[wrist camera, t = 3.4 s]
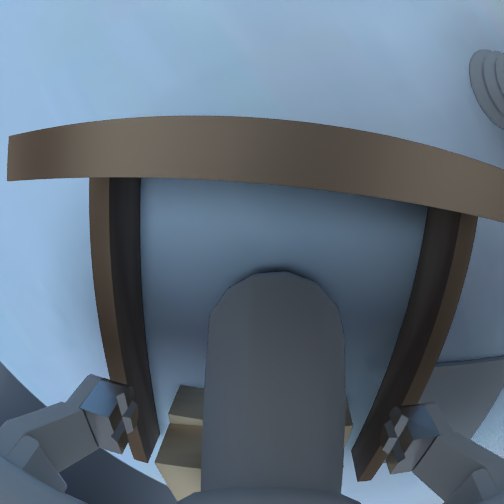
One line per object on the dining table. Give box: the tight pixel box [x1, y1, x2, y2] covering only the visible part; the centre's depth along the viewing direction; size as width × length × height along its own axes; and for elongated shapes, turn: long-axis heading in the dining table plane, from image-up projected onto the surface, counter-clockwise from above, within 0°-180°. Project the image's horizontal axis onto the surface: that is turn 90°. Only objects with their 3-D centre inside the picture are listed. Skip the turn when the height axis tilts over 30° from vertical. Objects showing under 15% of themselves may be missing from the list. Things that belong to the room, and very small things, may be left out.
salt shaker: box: [175, 271, 361, 504], centre depth 8 cm, size 6×6×13 cm
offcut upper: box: [154, 423, 344, 501], centre depth 13 cm, size 9×5×3 cm, turn 95°
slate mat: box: [383, 356, 504, 463], centre depth 16 cm, size 10×10×1 cm
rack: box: [7, 116, 504, 482], centre depth 11 cm, size 16×19×8 cm
